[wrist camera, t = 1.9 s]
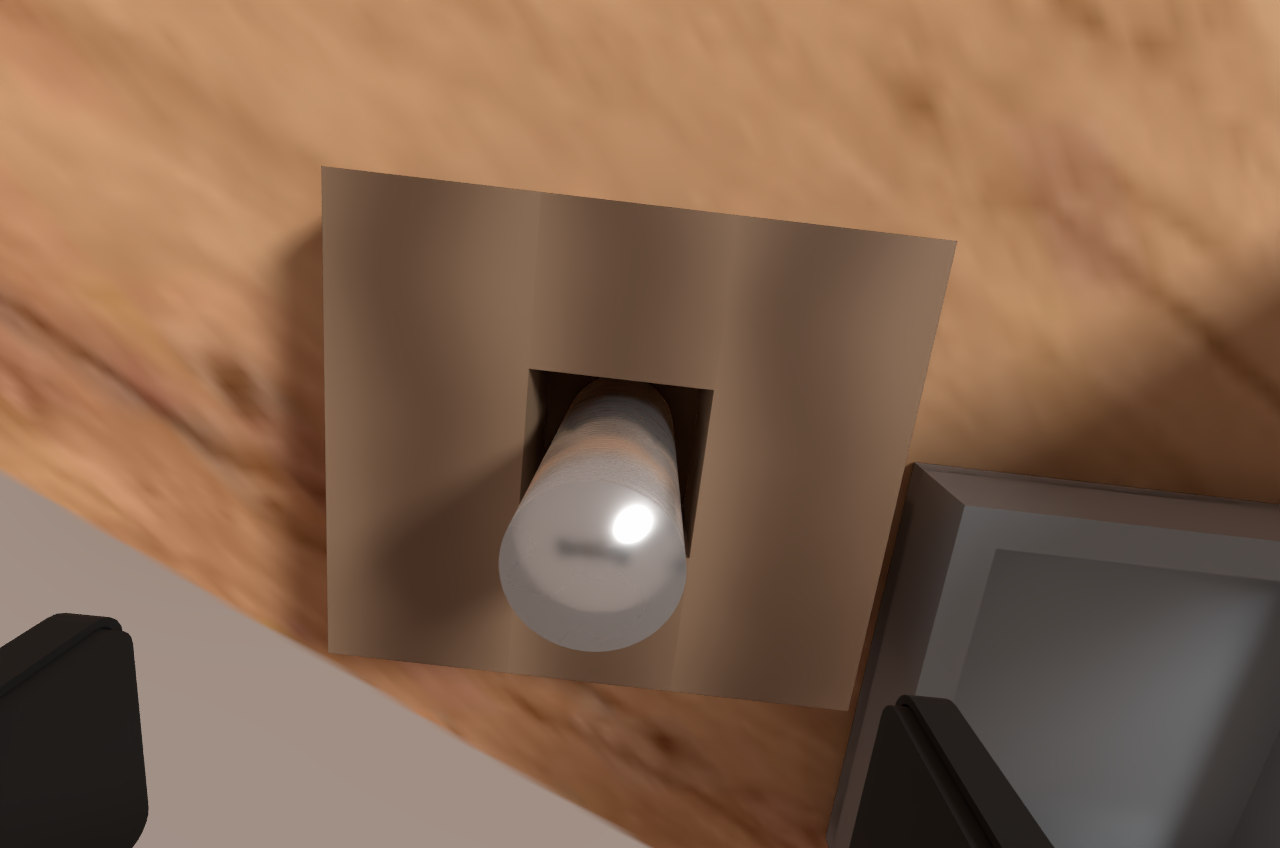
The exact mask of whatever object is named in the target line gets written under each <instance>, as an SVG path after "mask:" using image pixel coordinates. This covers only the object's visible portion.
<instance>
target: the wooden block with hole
mask: <svg viewBox="0 0 1280 848" xmlns="http://www.w3.org/2000/svg"><path fill="white" fill-rule="evenodd" d="M321 174H322V246H323V318H324V390H325V462H326V534H327V606H328V653H334V654H342V655H351V656H360V657H369V658H378V659H387V660H396V661H405V662H414V663H422V664H431V665H440V666H449V667H458V668H467V669H476V670H485V671H494V672H503V673H511V674H520V675H529V676H538V677H547V678H556V679H565V680H574V681H583V682H591V683H600V684H609V685H618V686H627V687H636V688H645V689H654V690H663V691H672V692H680V693H689V694H698V695H707V696H716V697H725V698H734V699H743V700H752V701H760V702H769V703H778V704H787V705H796V706H805V707H814V708H823V709H832V710H840V711H848V709H849V705H850V701H851V696H852V692H853V688H854V683H855V679H856V675H857V670H858V666H859V662H860V658H861V653H862V649H863V645H864V640H865V636H866V632H867V627H868V623H869V619H870V614H871V610H872V606H873V602H874V597H875V593H876V589H877V584H878V580H879V576H880V571H881V567H882V563H883V559H884V554H885V550H886V546H887V541H888V537H889V533H890V528H891V524H892V520H893V516H894V511H895V507H896V503H897V498H898V494H899V490H900V485H901V481H902V477H903V472H904V468H905V464H906V460H907V455H908V451H909V447H910V442H911V438H912V434H913V429H914V425H915V421H916V417H917V412H918V408H919V404H920V399H921V395H922V391H923V386H924V382H925V378H926V374H927V369H928V365H929V361H930V356H931V352H932V348H933V343H934V339H935V335H936V331H937V326H938V322H939V318H940V313H941V309H942V305H943V300H944V296H945V292H946V287H947V283H948V279H949V275H950V270H951V266H952V262H953V257H954V253H955V249H956V244H957V241H951V240H943V239H934V238H926V237H917V236H909V235H900V234H892V233H884V232H875V231H867V230H858V229H850V228H841V227H833V226H824V225H816V224H807V223H799V222H790V221H782V220H773V219H765V218H756V217H748V216H740V215H731V214H723V213H714V212H706V211H697V210H689V209H680V208H672V207H663V206H655V205H646V204H638V203H629V202H621V201H613V200H604V199H596V198H587V197H579V196H570V195H562V194H553V193H545V192H536V191H528V190H519V189H511V188H502V187H494V186H486V185H477V184H469V183H460V182H452V181H443V180H435V179H426V178H418V177H409V176H401V175H392V174H384V173H375V172H367V171H358V170H350V169H342V168H333V167H325V166H321ZM549 371H554V372H562V373H571V374H580V375H588V376H597V377H605V378H614V379H623V380H631V381H640V382H649V383H657V384H666V385H674V386H683V387H692V388H700V394H699V401H698V408H697V416H696V423H695V430H694V437H693V444H692V451H691V458H690V465H689V472H688V480H687V487H686V494H685V501H684V505H681V512H682V523H683V534H684V544H685V555H686V567H687V571H686V582H685V586H684V591H683V594H682V596H681V599H680V602H679V603H678V605H677V607H676V609H675V611H674V612H673V613H672V615H671V616H670V618H669V619H668V620H667V621H666V622H665V623H664V624H663V625H662V626H661V627H660V628H659V629H658V630H657V631H655V632H654V633H653V634H652V635H650V636H649V637H647V638H645V639H644V640H642V641H640V642H638V643H635V644H633V645H631V646H628V647H624V648H621V649H617V650H611V651H602V652H589V651H580V650H574V649H570V648H566V647H563V646H560V645H557V644H555V643H553V642H550V641H548V640H547V639H545V638H543V637H541V636H540V635H538V634H537V633H536V632H534V631H533V630H531V629H530V628H529V627H528V626H527V625H526V624H525V623H524V622H523V621H522V620H521V619H520V618H519V617H518V615H517V614H516V613H515V612H514V610H513V609H512V607H511V605H510V604H509V602H508V600H507V598H506V596H505V594H504V591H503V588H502V584H501V581H500V574H499V554H500V547H501V544H502V540H503V537H504V535H505V532H506V530H507V528H508V526H509V524H510V522H511V520H512V518H513V516H514V514H515V512H516V510H517V509H518V507H519V505H520V503H521V501H522V499H523V497H524V495H525V493H526V491H527V489H528V487H529V485H530V483H531V481H532V479H533V478H534V476H535V474H536V472H537V470H538V468H539V466H540V464H541V462H542V460H543V447H544V434H545V421H546V409H547V396H548V383H549Z"/></svg>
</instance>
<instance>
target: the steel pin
mask: <svg viewBox="0 0 1280 848" xmlns="http://www.w3.org/2000/svg"><path fill="white" fill-rule="evenodd" d="M686 571H687V567H686V555H685V544H684V534H683V523H682V512H681V502H680V491H679V481H678V470H677V460H676V449H675V439H674V428H673V419H672V415H671V411H670V409H669V406H668V404H667V403H666V401H665V399H664V398H663V397H662V395H661V394H660V393H659V392H658V391H657V390H656V389H655V388H654V387H652V386H651V385H649V384H648V383H646V382H640V381H631V380H623V379H614V378H605V377H604V378H601V379H598V380H596V381H594V382H592V383H590V384H589V385H587V386H586V387H585V388H584V389H582V390H581V391H580V392H579V394H578V395H577V396H576V397H575V399H574V401H573V402H572V404H571V406H570V408H569V410H568V412H567V414H566V416H565V417H564V419H563V421H562V423H561V425H560V427H559V429H558V431H557V433H556V435H555V437H554V439H553V441H552V443H551V445H550V447H549V448H548V450H547V452H546V454H545V456H544V458H543V460H542V462H541V464H540V466H539V468H538V470H537V472H536V474H535V476H534V478H533V479H532V481H531V483H530V485H529V487H528V489H527V491H526V493H525V495H524V497H523V499H522V501H521V503H520V505H519V507H518V509H517V510H516V512H515V514H514V516H513V518H512V520H511V522H510V524H509V526H508V528H507V530H506V532H505V535H504V537H503V540H502V544H501V547H500V554H499V574H500V581H501V584H502V588H503V591H504V594H505V596H506V598H507V600H508V602H509V604H510V605H511V607H512V609H513V610H514V612H515V613H516V614H517V615H518V617H519V618H520V619H521V620H522V621H523V622H524V623H525V624H526V625H527V626H528V627H529V628H530V629H531V630H533V631H534V632H536V633H537V634H538V635H540V636H541V637H543V638H545V639H547V640H548V641H550V642H553V643H555V644H557V645H560V646H563V647H566V648H570V649H574V650H580V651H589V652H602V651H611V650H617V649H621V648H624V647H628V646H631V645H633V644H635V643H638V642H640V641H642V640H644V639H645V638H647V637H649V636H650V635H652V634H653V633H654V632H655V631H657V630H658V629H659V628H660V627H661V626H662V625H663V624H664V623H665V622H666V621H667V620H668V619H669V618H670V616H671V615H672V613H673V612H674V611H675V609H676V607H677V605H678V603H679V602H680V599H681V596H682V594H683V591H684V586H685V582H686Z"/></svg>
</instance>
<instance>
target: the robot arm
mask: <svg viewBox="0 0 1280 848" xmlns="http://www.w3.org/2000/svg"><path fill="white" fill-rule="evenodd" d="M147 798H148V797H147V786H146V776H145V766H144V755H143V745H142V734H141V724H140V713H139V703H138V692H137V682H136V671H135V661H134V650H133V642H132V639H131V636H130V635H129V634H128V633H126V632H124V631H122V627H121V625H120V624H119V623H118V621H117V620H115V619H113V618H110V617H101V616H90V615H81V614H80V615H79V614H71V613H61V614H56V615H53V616H51V617H49V618H47V619H45V620H44V621H42V622H40V623H39V624H37V625H36V626H34V627H32V628H31V629H29V630H28V631H26V632H25V633H23V634H21V635H20V636H18V637H17V638H15V639H14V640H12V641H10V642H9V643H7V644H5V645H4V646H2V647H1V648H0V848H132V847H133V846H134V845H135V843H136V842H137V840H138V839H139V837H140V835H141V834H142V832H143V829H144V827H145V824H146V821H147V817H148V799H147ZM849 848H1054V847H1053V845H1052V844H1051V842H1050V841H1049V839H1048V838H1047V836H1046V835H1045V833H1044V832H1043V831H1042V829H1041V828H1040V826H1039V825H1038V823H1037V822H1036V820H1035V819H1034V818H1033V816H1032V815H1031V813H1030V812H1029V810H1028V809H1027V807H1026V806H1025V805H1024V803H1023V802H1022V800H1021V799H1020V797H1019V796H1018V794H1017V793H1016V792H1015V790H1014V789H1013V787H1012V786H1011V784H1010V783H1009V781H1008V780H1007V779H1006V777H1005V776H1004V774H1003V773H1002V771H1001V770H1000V768H999V767H998V765H997V764H996V763H995V761H994V760H993V758H992V757H991V755H990V754H989V752H988V751H987V750H986V748H985V747H984V745H983V744H982V742H981V741H980V739H979V738H978V737H977V735H976V734H975V732H974V731H973V729H972V728H971V726H970V725H969V724H968V722H967V721H966V719H965V718H964V716H963V715H962V713H961V712H960V710H959V709H958V708H957V706H956V705H955V704H954V703H953V702H952V701H951V700H949V699H946V698H936V697H926V696H915V695H902V696H900V697H899V698H898V700H897V701H896V704H895V706H893V705H888V706H886V707H885V708H884V709H883V712H882V714H881V718H880V722H879V726H878V730H877V734H876V739H875V743H874V747H873V751H872V755H871V759H870V763H869V767H868V771H867V776H866V780H865V784H864V788H863V792H862V796H861V800H860V804H859V808H858V813H857V817H856V821H855V825H854V829H853V833H852V837H851V841H850V845H849Z"/></svg>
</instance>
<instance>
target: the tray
mask: <svg viewBox="0 0 1280 848" xmlns="http://www.w3.org/2000/svg"><path fill="white" fill-rule="evenodd" d="M902 695H915V696H926V697H936V698H946V699H949V700H951V701H952V702H953V703H954V704H955V705H956V706H957V708H958V709H959V710H960V712H961V713H962V715H963V716H964V718H965V719H966V721H967V722H968V724H969V725H970V726H971V728H972V729H973V731H974V732H975V734H976V735H977V737H978V738H979V739H980V741H981V742H982V744H983V745H984V747H985V748H986V750H987V751H988V752H989V754H990V755H991V757H992V758H993V760H994V761H995V763H996V764H997V765H998V767H999V768H1000V770H1001V771H1002V773H1003V774H1004V776H1005V777H1006V779H1007V780H1008V781H1009V783H1010V784H1011V786H1012V787H1013V789H1014V790H1015V792H1016V793H1017V794H1018V796H1019V797H1020V799H1021V800H1022V802H1023V803H1024V805H1025V806H1026V807H1027V809H1028V810H1029V812H1030V813H1031V815H1032V816H1033V818H1034V819H1035V820H1036V822H1037V823H1038V825H1039V826H1040V828H1041V829H1042V831H1043V832H1044V833H1045V835H1046V836H1047V838H1048V839H1049V841H1050V842H1051V844H1052V845H1053V847H1054V848H1280V504H1273V503H1264V502H1256V501H1247V500H1238V499H1230V498H1221V497H1212V496H1204V495H1195V494H1186V493H1178V492H1169V491H1160V490H1152V489H1143V488H1134V487H1126V486H1117V485H1108V484H1100V483H1091V482H1082V481H1074V480H1065V479H1056V478H1048V477H1039V476H1030V475H1022V474H1013V473H1004V472H996V471H987V470H978V469H970V468H961V467H952V466H944V465H935V464H926V463H918V462H914V466H913V470H912V475H911V479H910V483H909V487H908V491H907V496H906V500H905V504H904V508H903V513H902V517H901V521H900V525H899V530H898V534H897V538H896V542H895V547H894V551H893V555H892V559H891V563H890V568H889V572H888V576H887V580H886V585H885V589H884V593H883V597H882V602H881V606H880V610H879V614H878V619H877V623H876V627H875V631H874V636H873V640H872V644H871V648H870V652H869V657H868V661H867V665H866V669H865V674H864V678H863V682H862V686H861V691H860V695H859V699H858V703H857V708H856V712H855V716H854V720H853V724H852V729H851V733H850V737H849V741H848V746H847V750H846V754H845V758H844V763H843V767H842V771H841V775H840V780H839V784H838V788H837V792H836V797H835V801H834V805H833V809H832V813H831V818H830V822H829V826H828V830H827V835H826V841H827V844H828V848H849V845H850V841H851V837H852V833H853V829H854V825H855V821H856V817H857V813H858V808H859V804H860V800H861V796H862V792H863V788H864V784H865V780H866V776H867V771H868V767H869V763H870V759H871V755H872V751H873V747H874V743H875V739H876V734H877V730H878V726H879V722H880V718H881V714H882V712H883V709H884V708H885V707H886V706H888V705H893V706H895V704H896V701H897V700H898V698H899V697H900V696H902Z"/></svg>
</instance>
